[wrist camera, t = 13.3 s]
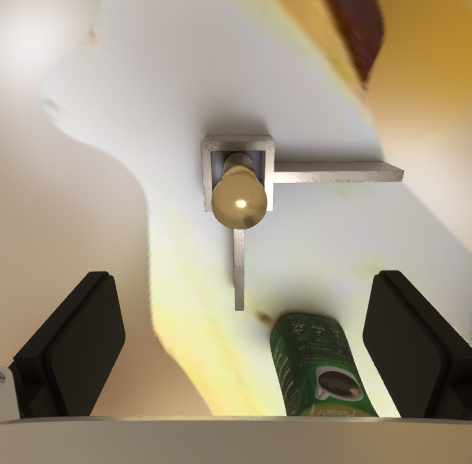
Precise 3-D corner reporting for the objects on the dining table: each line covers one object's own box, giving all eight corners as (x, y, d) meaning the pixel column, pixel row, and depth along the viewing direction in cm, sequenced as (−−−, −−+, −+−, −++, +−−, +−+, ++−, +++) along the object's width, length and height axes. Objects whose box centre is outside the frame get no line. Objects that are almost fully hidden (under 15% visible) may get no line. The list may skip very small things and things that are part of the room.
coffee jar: (263, 349, 43) (280, 515, 26) (279, 305, 40) (310, 460, 23) (329, 361, 43) (387, 529, 26) (349, 318, 40) (430, 478, 23)
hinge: (387, 133, 31) (410, 139, 27) (359, 287, 38) (374, 309, 34) (205, 136, 31) (200, 141, 27) (213, 288, 38) (210, 310, 34)
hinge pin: (258, 148, 31) (268, 175, 21) (257, 186, 33) (266, 229, 22) (219, 149, 32) (209, 175, 21) (220, 186, 33) (212, 229, 22)
